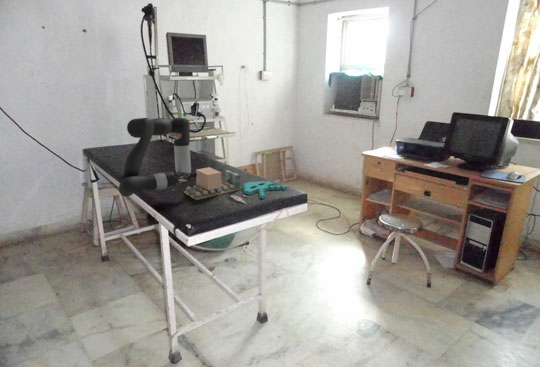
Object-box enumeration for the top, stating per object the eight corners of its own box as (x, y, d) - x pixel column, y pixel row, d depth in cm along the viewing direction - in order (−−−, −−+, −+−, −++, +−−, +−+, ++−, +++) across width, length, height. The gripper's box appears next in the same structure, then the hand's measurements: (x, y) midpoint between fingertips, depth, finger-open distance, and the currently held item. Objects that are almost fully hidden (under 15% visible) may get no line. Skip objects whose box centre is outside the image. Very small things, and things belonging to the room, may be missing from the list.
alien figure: (286, 189, 199) (258, 182, 211) (286, 186, 199) (258, 178, 211) (262, 199, 185) (234, 191, 197) (262, 195, 184) (234, 187, 196)
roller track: (184, 193, 191) (183, 178, 189) (228, 183, 207) (228, 169, 205) (196, 200, 182) (195, 184, 179) (241, 189, 198) (241, 175, 195)
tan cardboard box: (196, 184, 194) (195, 169, 192) (209, 181, 199) (209, 167, 196) (208, 190, 185) (207, 175, 183) (221, 187, 190) (221, 172, 187)
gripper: (168, 176, 169) (202, 170, 179) (157, 169, 179) (189, 164, 189) (169, 191, 171) (202, 184, 182) (158, 184, 181) (190, 178, 191)
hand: (196, 174), depth 185 cm, fingers closed
